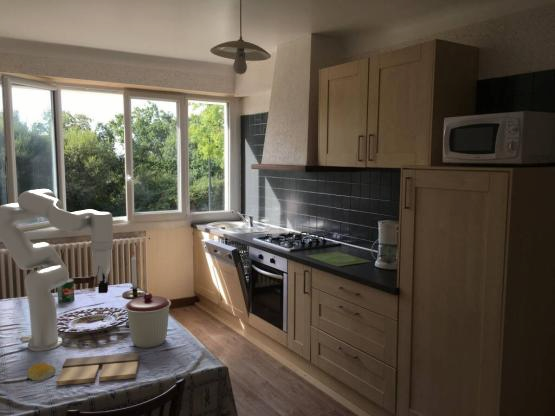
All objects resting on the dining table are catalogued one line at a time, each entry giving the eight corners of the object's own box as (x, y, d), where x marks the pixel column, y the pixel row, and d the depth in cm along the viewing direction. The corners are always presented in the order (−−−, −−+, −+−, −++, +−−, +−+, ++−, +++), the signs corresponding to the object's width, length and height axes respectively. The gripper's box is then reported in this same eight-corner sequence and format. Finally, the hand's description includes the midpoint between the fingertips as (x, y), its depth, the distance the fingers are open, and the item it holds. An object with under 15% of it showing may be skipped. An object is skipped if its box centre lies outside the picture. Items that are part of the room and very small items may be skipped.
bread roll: (44, 367, 170) (44, 357, 170) (59, 374, 166) (58, 363, 165) (22, 377, 163) (21, 366, 163) (36, 384, 159) (36, 373, 158)
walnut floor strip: (62, 371, 167) (62, 366, 167) (66, 363, 173) (66, 358, 173) (138, 364, 173) (137, 359, 172) (139, 357, 178) (139, 352, 178)
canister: (160, 354, 181) (159, 301, 178) (117, 350, 184) (115, 299, 182) (178, 335, 199) (177, 287, 196) (139, 332, 202) (137, 285, 199)
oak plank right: (99, 381, 159) (98, 377, 159) (103, 368, 169) (103, 364, 169) (135, 377, 162) (135, 373, 162) (137, 365, 172) (137, 361, 171)
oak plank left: (56, 385, 157) (56, 381, 156) (63, 372, 166) (63, 368, 166) (94, 381, 159) (94, 377, 159) (99, 368, 169) (98, 364, 169)
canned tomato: (63, 298, 247) (62, 277, 245) (77, 298, 246) (76, 278, 244) (54, 303, 239) (53, 282, 237) (69, 303, 238) (67, 283, 236)
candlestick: (125, 330, 204) (121, 252, 200) (122, 321, 214) (119, 247, 209) (150, 326, 209) (147, 249, 204) (146, 318, 219) (143, 245, 214)
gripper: (95, 240, 181) (96, 286, 183) (87, 249, 166) (88, 299, 169) (115, 240, 182) (116, 286, 185) (109, 249, 168) (110, 298, 170)
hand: (103, 292), depth 177 cm, fingers closed
